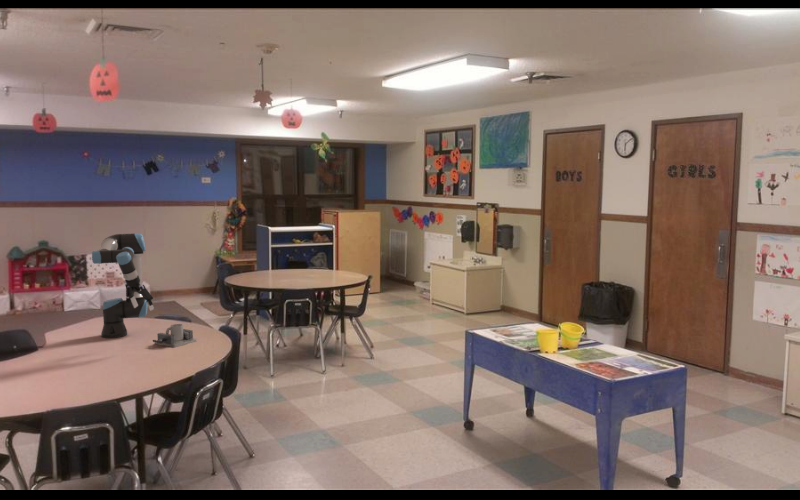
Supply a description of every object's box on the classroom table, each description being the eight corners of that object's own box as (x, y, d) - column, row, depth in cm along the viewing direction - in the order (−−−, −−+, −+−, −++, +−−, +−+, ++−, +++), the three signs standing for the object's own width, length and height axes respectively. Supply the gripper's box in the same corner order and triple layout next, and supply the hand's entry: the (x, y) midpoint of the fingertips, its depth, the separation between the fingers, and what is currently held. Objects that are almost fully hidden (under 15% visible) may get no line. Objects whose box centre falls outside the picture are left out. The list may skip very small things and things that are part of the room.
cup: (183, 340, 384) (182, 326, 383) (165, 342, 381) (165, 327, 380) (183, 337, 391) (182, 323, 390) (166, 339, 387) (165, 324, 386)
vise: (146, 345, 378) (146, 335, 378) (176, 337, 397) (176, 327, 396) (167, 349, 369) (166, 338, 368) (196, 341, 388) (196, 330, 387)
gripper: (112, 278, 369) (124, 308, 379) (141, 283, 357) (154, 314, 367) (122, 272, 375) (134, 302, 384) (151, 276, 363) (163, 307, 373)
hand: (144, 308), depth 376 cm, fingers open, 13 cm apart
